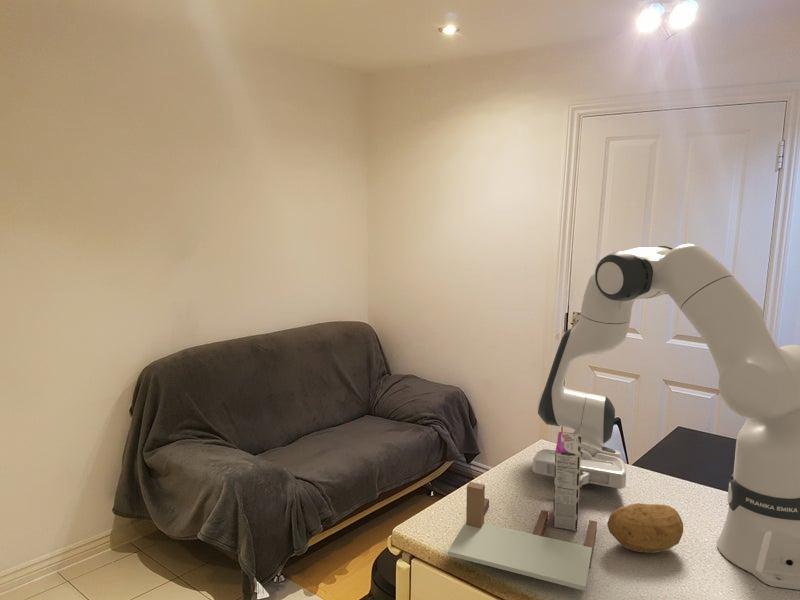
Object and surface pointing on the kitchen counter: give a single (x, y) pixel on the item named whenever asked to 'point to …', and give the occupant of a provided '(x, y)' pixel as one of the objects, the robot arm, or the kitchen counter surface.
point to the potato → (646, 527)
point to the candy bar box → (567, 481)
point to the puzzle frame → (542, 524)
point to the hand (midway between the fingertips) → (574, 483)
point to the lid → (518, 548)
